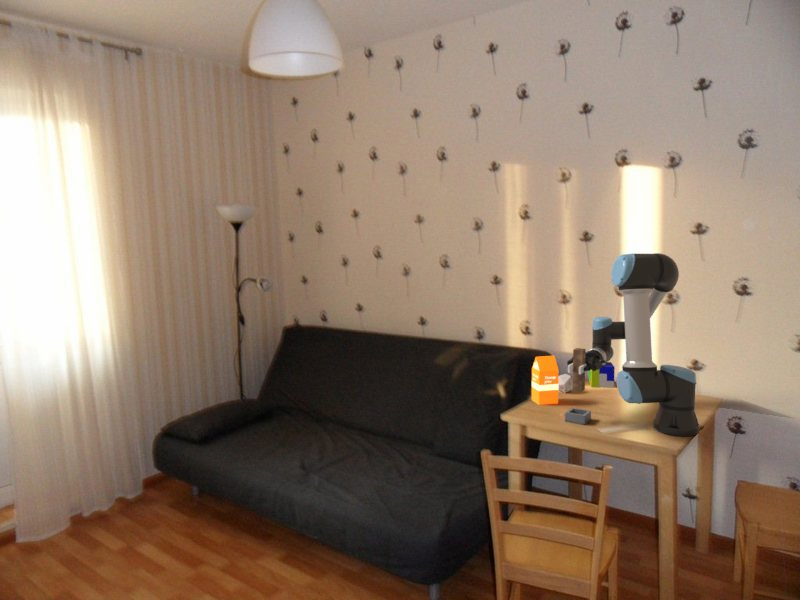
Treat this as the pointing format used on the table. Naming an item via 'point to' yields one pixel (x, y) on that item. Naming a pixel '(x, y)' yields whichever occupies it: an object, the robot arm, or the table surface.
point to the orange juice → (545, 380)
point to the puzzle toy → (602, 376)
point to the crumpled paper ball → (565, 383)
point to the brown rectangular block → (577, 362)
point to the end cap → (578, 416)
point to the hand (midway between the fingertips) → (574, 370)
